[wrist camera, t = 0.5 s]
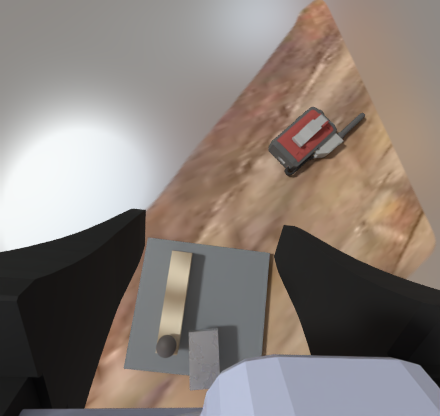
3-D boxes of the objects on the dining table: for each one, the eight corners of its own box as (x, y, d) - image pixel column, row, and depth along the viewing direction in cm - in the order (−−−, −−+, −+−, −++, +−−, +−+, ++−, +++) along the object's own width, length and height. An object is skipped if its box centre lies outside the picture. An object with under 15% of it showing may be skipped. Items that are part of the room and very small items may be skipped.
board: (257, 378, 33) (259, 382, 32) (126, 364, 32) (123, 368, 31) (268, 252, 36) (269, 253, 35) (149, 237, 36) (148, 237, 35)
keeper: (191, 374, 32) (189, 390, 28) (190, 323, 33) (188, 332, 29) (218, 372, 32) (220, 387, 28) (216, 321, 33) (217, 330, 30)
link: (178, 348, 32) (175, 360, 28) (158, 346, 32) (152, 358, 28) (192, 252, 34) (191, 253, 31) (174, 250, 34) (170, 250, 31)
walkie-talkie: (293, 186, 39) (362, 122, 43) (304, 179, 35) (380, 108, 38) (260, 152, 40) (330, 92, 43) (266, 141, 36) (344, 74, 39)
